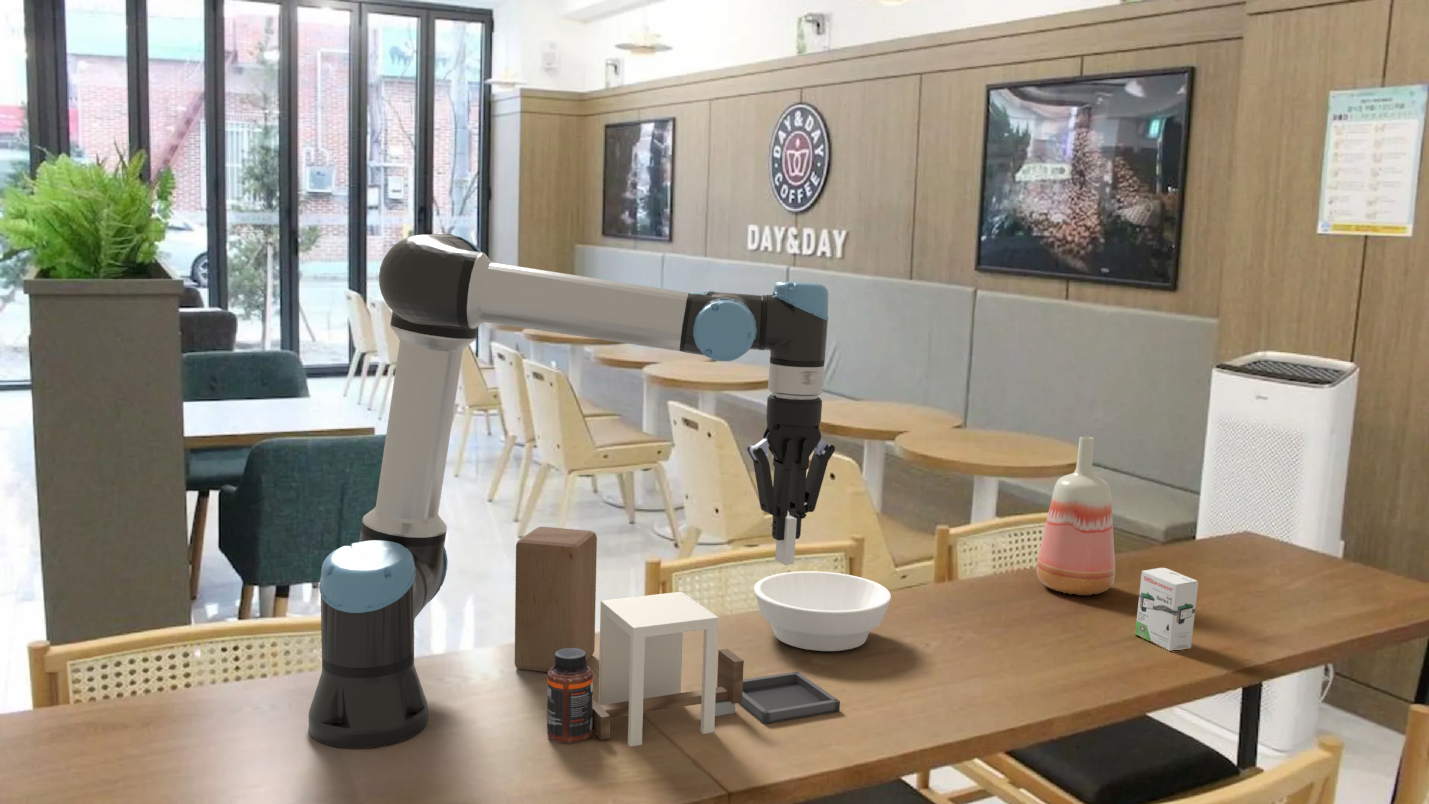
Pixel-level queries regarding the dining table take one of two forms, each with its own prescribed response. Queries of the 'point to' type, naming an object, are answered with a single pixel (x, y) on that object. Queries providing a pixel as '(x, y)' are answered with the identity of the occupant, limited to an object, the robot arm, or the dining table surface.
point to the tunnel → (654, 654)
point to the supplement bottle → (569, 697)
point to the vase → (1079, 531)
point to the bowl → (821, 608)
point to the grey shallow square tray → (785, 698)
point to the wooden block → (554, 595)
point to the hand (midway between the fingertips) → (784, 561)
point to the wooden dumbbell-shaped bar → (678, 695)
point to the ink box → (1166, 608)
